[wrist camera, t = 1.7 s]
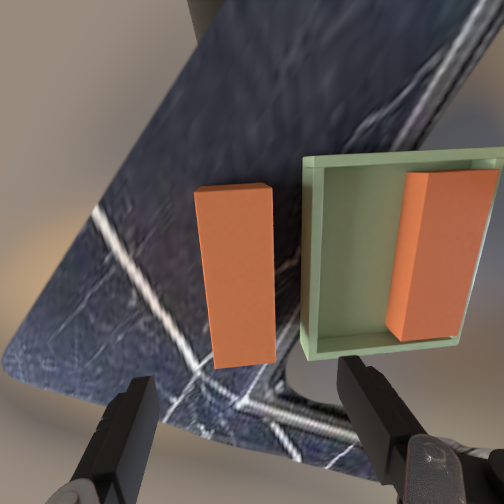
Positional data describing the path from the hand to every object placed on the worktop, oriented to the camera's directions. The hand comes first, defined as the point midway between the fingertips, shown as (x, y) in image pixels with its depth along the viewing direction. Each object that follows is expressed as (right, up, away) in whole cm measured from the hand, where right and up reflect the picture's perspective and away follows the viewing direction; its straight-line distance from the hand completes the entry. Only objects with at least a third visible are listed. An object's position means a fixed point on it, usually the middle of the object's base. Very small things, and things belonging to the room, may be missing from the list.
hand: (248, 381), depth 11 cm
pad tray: (+12, +5, +13) cm, 18 cm away
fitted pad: (+16, +5, +12) cm, 21 cm away
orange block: (-1, +4, +12) cm, 13 cm away
